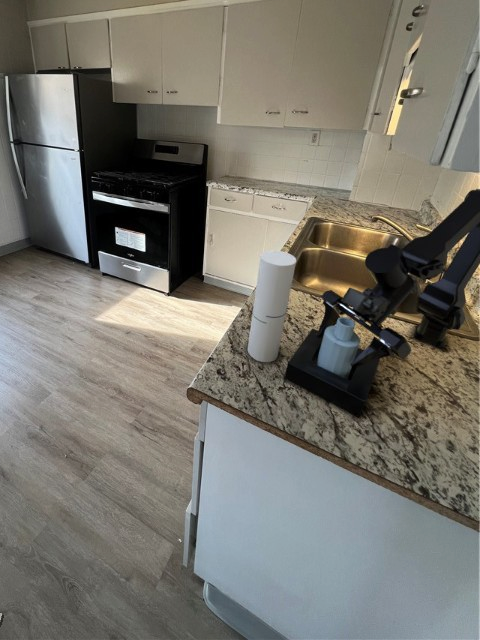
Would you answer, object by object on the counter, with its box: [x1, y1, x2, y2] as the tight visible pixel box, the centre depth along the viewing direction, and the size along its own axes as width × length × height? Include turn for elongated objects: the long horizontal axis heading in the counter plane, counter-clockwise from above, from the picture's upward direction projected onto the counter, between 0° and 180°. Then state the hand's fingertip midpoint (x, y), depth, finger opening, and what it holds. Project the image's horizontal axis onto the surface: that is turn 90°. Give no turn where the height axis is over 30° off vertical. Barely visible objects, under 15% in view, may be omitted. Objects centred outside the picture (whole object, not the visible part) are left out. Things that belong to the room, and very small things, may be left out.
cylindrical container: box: [247, 250, 297, 363], centre depth 70 cm, size 7×7×25 cm
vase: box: [315, 316, 361, 380], centre depth 66 cm, size 7×7×14 cm
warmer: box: [284, 327, 381, 419], centre depth 68 cm, size 15×15×5 cm
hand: (333, 351), depth 65 cm, fingers open, 9 cm apart
